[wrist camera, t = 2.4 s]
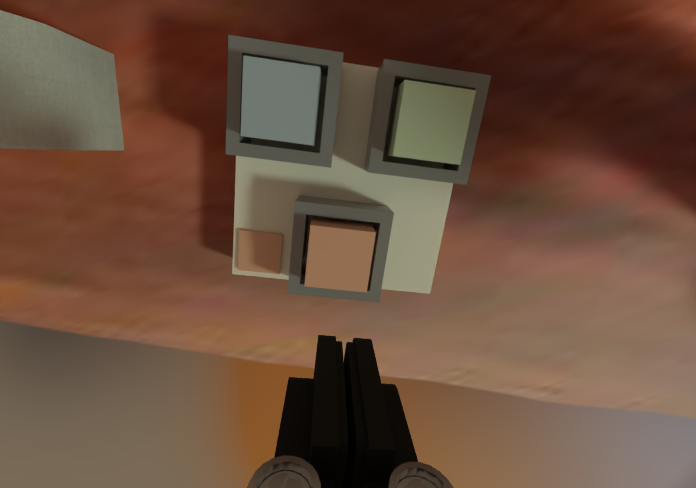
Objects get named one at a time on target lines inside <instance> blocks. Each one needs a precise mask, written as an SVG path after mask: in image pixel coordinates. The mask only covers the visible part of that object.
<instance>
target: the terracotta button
mask: <svg viewBox="0 0 696 488" xmlns="http://www.w3.org/2000/svg"><path fill="white" fill-rule="evenodd" d="M375 236H376V232H375V230H374V228H373V226H372V224H364V223H356V222H347V221H338V220H330V219H321V218H312V221H311V225H310V234H309V244H308V254H307V265H306V275H305V285H304V286H306V287H316V288H326V289H336V290H346V291H356V292H366V293H367V288H368V281H369V275H370V268H371V262H372V255H373V249H374V242H375Z"/></svg>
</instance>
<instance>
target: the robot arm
mask: <svg viewBox="0 0 696 488" xmlns="http://www.w3.org/2000/svg"><path fill="white" fill-rule="evenodd" d="M247 488H453V486H452V485H451V483H450V482H449V481H448V479H447V478H446V477H445V476H444V475H443V474H442V473H441V472H440V471H438V470H436V469H435V468H433V467H432V466H430V465H427V464H424V463H421V462H418V460H417V456H416V453H415V449H414V446H413V442H412V439H411V435H410V432H409V428H408V425H407V421H406V418H405V414H404V411H403V407H402V404H401V400H400V397H399V394H398V390H397V387H396V386H395V385H394V384H381V380H380V376H379V371H378V367H377V362H376V358H375V353H374V349H373V344H372V340H371V339H362V338H354V339H353V342H347V344H346V350H345V357H344V364H343V349H342V342H341V341H336V337H335V336H325V335H318V343H317V352H316V361H315V369H314V378H313V379H309V378H294V377H289V380H288V385H287V391H286V396H285V402H284V408H283V412H282V418H281V424H280V429H279V435H278V441H277V446H276V452H275V457H274V458H272V459H271V460H269V461H267V462H265V463H264V464H262V465H261V466H260V467H259V468H258V469H257V470H256V472H255V473H254V475H253V476H252V478H251V480H250V482H249V484H248V487H247Z"/></svg>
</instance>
